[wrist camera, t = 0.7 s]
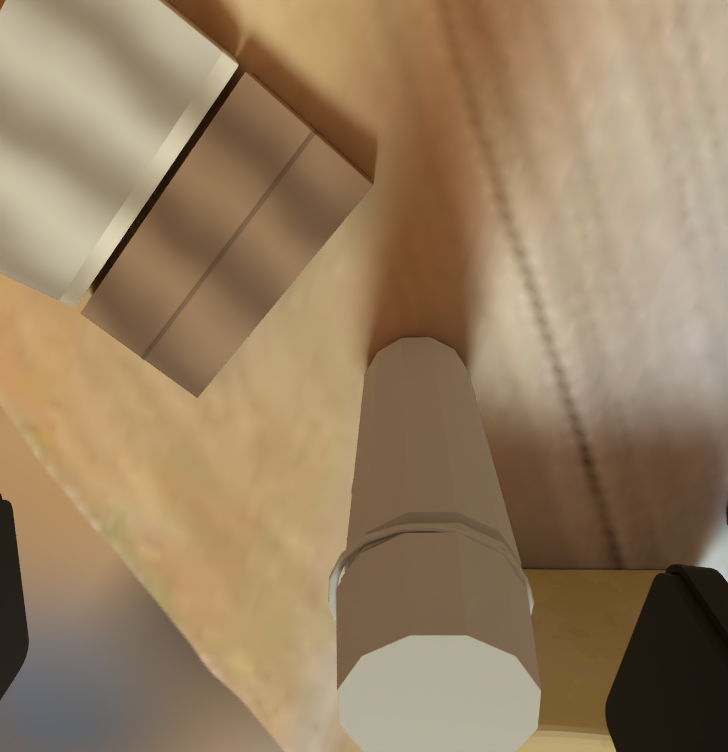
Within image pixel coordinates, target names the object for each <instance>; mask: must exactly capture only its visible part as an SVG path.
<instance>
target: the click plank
mask: <svg viewBox="0 0 728 752" xmlns="http://www.w3.org/2000/svg"><path fill="white" fill-rule="evenodd" d="M238 66H239V65H238V63H237V61H236V59H235V57H234V56H233V55H232V54H231V53H229V52H228V51H227V50H226V49H225V48H223V47H222V46H221V45H220V44H219V43H217V42H216V41H215V40H214V39H212V38H211V37H210V36H209V35H208V34H206V33H205V32H204V31H203V30H202V29H200V28H199V27H198V26H197V25H195V24H194V23H193V22H192V21H191V20H189V19H188V18H187V17H186V16H185V15H183V14H182V13H181V12H180V11H178V10H177V9H176V8H175V7H174V6H172V5H171V4H170V3H169V2H167V1H166V0H6V1H5V3H4V5H3V6H2V8H1V10H0V274H2V275H5V276H7V277H9V278H11V279H13V280H15V281H18V282H20V283H22V284H24V285H26V286H29V287H31V288H33V289H35V290H37V291H40V292H42V293H44V294H46V295H48V296H50V297H53V298H55V299H57V300H59V301H61V302H63V303H66V304H68V305H70V306H72V307H74V308H75V307H76V305H77V304H78V303H79V301H80V300H81V298H82V297H83V295H84V294H85V292H86V291H87V289H88V288H89V286H90V285H91V283H92V282H93V280H94V279H95V277H96V276H97V274H98V273H99V271H100V270H101V269H102V267H103V266H104V264H105V263H106V261H107V260H108V258H109V257H110V255H111V254H112V252H113V251H114V249H115V248H116V246H117V245H118V243H119V242H120V240H121V239H122V237H123V236H124V235H125V233H126V232H127V230H128V229H129V227H130V226H131V224H132V223H133V221H134V220H135V218H136V217H137V215H138V214H139V212H140V211H141V209H142V208H143V206H144V205H145V203H146V202H147V201H148V199H149V198H150V196H151V195H152V193H153V192H154V190H155V189H156V187H157V186H158V184H159V183H160V181H161V180H162V178H163V177H164V175H165V174H166V172H167V171H168V169H169V168H170V166H171V165H172V164H173V162H174V161H175V159H176V158H177V156H178V155H179V153H180V152H181V150H182V149H183V147H184V146H185V144H186V143H187V141H188V140H189V138H190V137H191V135H192V134H193V132H194V131H195V130H196V128H197V127H198V125H199V124H200V122H201V121H202V119H203V118H204V116H205V115H206V113H207V112H208V110H209V109H210V107H211V106H212V104H213V103H214V101H215V100H216V98H217V97H218V96H219V94H220V93H221V91H222V90H223V88H224V87H225V85H226V84H227V82H228V81H229V79H230V78H231V76H232V75H233V73H234V72H235V70H236V69H237V67H238Z"/></svg>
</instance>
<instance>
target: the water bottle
mask: <svg viewBox="0 0 728 752" xmlns="http://www.w3.org/2000/svg"><path fill="white" fill-rule="evenodd" d="M344 566H345V574H344V575H343V577H342V578H341V583H340V584H339V586H338V580H339V577H340V574H341V571H342V569H343V567H344ZM521 566H522V564H521V560H520V557H519V553H518V550H517V546H516V542H515V539H514V535H513V531H512V528H511V524H510V521H509V517H508V513H507V510H506V506H505V502H504V499H503V495H502V492H501V488H500V484H499V481H498V477H497V473H496V470H495V466H494V462H493V459H492V455H491V452H490V448H489V444H488V441H487V437H486V433H485V430H484V426H483V423H482V419H481V415H480V412H479V408H478V404H477V401H476V397H475V394H474V390H473V386H472V383H471V379H470V375H469V372H468V370H467V368H466V367H465V365H464V364H463V362H462V360H461V359H460V357H459V356H458V354H457V352H456V351H455V349H453V348H451V347H449V346H447V345H445V344H443V343H441V342H439V341H437V340H435V339H433V338H431V337H412V338H400V339H399V340H397V341H395V342H393V343H392V344H390V345H388V346H387V347H385V348H383V349H381V350H380V351H378V352H377V354H376V355H375V357H374V359H373V361H372V362H371V364H370V366H369V368H368V369H367V371H366V373H365V377H364V386H363V396H362V405H361V414H360V424H359V433H358V443H357V452H356V462H355V471H354V479H353V485H352V500H351V509H350V518H349V528H348V537H347V547H346V550H345V551H344V552H343V553H342V554H341V555H340V557H339V559H338V561H337V563H336V565H335V567H334V569H333V571H332V573H331V575H330V577H329V600H328V601H329V605H330V608H331V612H332V615H333V618H334V622H335V625H336V628H337V694H338V704H339V715H340V726H341V728H342V729H343V730H344V731H345V732H346V733H347V734H348V735H349V737H350V738H351V739H352V740H353V741H354V742H355V743H356V744H357V745H358V746H359V747H360V748H361V750H362V751H363V752H515V751H516V750H517V749H518V748H519V747H520V746H521V745H522V744H523V743H524V742H525V741H526V740H527V739H528V738H529V737H530V736H531V735H532V734H533V733H534V732H535V731H536V730H537V729H538V719H539V709H540V699H541V686H540V679H539V671H538V664H537V657H536V650H535V642H534V635H533V628H532V621H531V615H532V609H533V605H534V599H533V596H532V590H531V587H530V585H529V582H528V578H527V576H526V575H525V574H524V572H523V571H522V569H521Z"/></svg>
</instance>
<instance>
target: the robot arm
mask: <svg viewBox="0 0 728 752" xmlns="http://www.w3.org/2000/svg"><path fill="white" fill-rule="evenodd" d="M28 645H29V638H28V629H27V621H26V613H25V605H24V597H23V589H22V581H21V573H20V565H19V557H18V549H17V540H16V532H15V524H14V517H13V509H12V505H11V503H10V502H9V501H7V500H2V496H1V494H0V700H1V698H2V697H3V695H4V694H5V692H6V691H7V689H8V687H9V686H10V684H11V683H12V681H13V680H14V678H15V677H16V675H17V673H18V672H19V670H20V668H21V667H22V664H23V663H24V660H25V658H26V655H27V651H28ZM605 718H606V724H607V728H608V731H609V733H610V736H611V739H612V741H613V744H614V747H615V749H616V752H728V583H727V581H726V580H725V579H724V577H723V576H722V575H721V574H720V573H719V572H718V571H717V570H715V569H712V568H705V567H696V566H687V565H678V564H675V565H671V566H670V567H668V568H667V570H666V571H665V573H659V574H657V575H656V576H655V578H654V580H653V582H652V584H651V587H650V590H649V592H648V595H647V597H646V600H645V602H644V605H643V608H642V610H641V613H640V615H639V618H638V620H637V623H636V625H635V628H634V631H633V633H632V636H631V638H630V641H629V643H628V646H627V649H626V651H625V654H624V656H623V659H622V661H621V664H620V667H619V669H618V672H617V674H616V677H615V679H614V682H613V685H612V687H611V690H610V692H609V695H608V697H607V700H606V705H605Z"/></svg>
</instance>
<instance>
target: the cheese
mask: <svg viewBox="0 0 728 752" xmlns="http://www.w3.org/2000/svg"><path fill="white" fill-rule="evenodd" d="M522 571H523V572H524V574H525V575H526V576H527V578H528V582H529V585H530V587H531V590H532V596H533V599H534V605H533V609H532V615H531V621H532V628H533V635H534V642H535V650H536V657H537V664H538V671H539V679H540V686H541V699H540V709H539V719H538V729H537V730H536V731H535V732H534V733H533V734H532V735H531V736H530V737H529V738H528V739H527V740H526V741H525V742H524V743H523V744H522V745H521V746H520V747H519V748H518V749H517V750H516V751H515V752H616V749H615V747H614V744H613V741H612V739H611V736H610V733H609V731H608V728H607V724H606V718H605V705H606V700H607V697H608V695H609V692H610V690H611V687H612V685H613V682H614V679H615V677H616V674H617V672H618V669H619V667H620V664H621V661H622V659H623V656H624V654H625V651H626V649H627V646H628V643H629V641H630V638H631V636H632V633H633V631H634V628H635V625H636V623H637V620H638V618H639V615H640V613H641V610H642V608H643V605H644V602H645V600H646V597H647V595H648V592H649V590H650V587H651V584H652V582H653V580H654V578H655V576H656V575H657V574H659V573H665V571H666V570H551V569H522Z"/></svg>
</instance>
